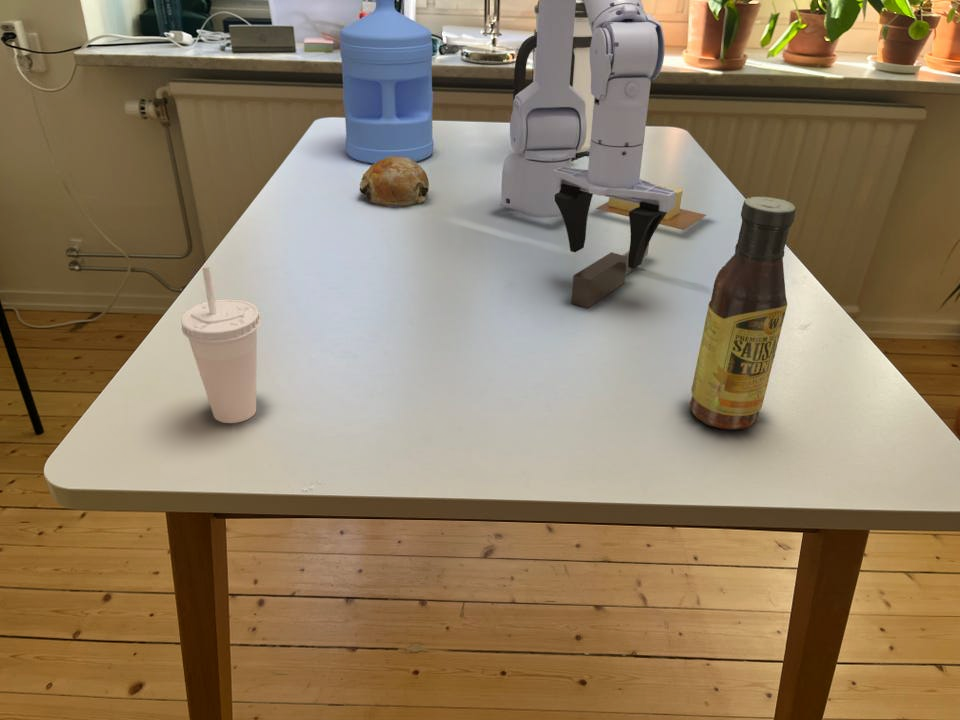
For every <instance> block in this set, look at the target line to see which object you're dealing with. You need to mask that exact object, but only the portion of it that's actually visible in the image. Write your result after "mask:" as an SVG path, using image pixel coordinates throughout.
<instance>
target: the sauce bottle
mask: <svg viewBox="0 0 960 720" xmlns="http://www.w3.org/2000/svg"><path fill="white" fill-rule="evenodd" d="M796 211H797V209H796V206H795V205H794V204H793V203H792V202H790V201H788V200H784V199H782V198H776V197H775V198H774V197H771V196H770V197H769V196H751V197H747V198H745V199H744V201H743V203H742V207H741V210H740V217H741V225H740V229H739V233H738V239H737V242H736V244H735V247H734V248H735V249H734V254H733V255H732V256H731V257H730V259H729V260H727V262H726V263H725V264H724V266H722V267H721V268H720V270H718V273H717V274H716V277H715V280H714V283H713V288H712V293H711V297H710V300H709V302H708V306H707V313H706V316H705V321H704V326H703V331H702V336H701V342H700V346H699V350H698V355H697V360H696V366H695V370H694V376H693V381H692V385H691V389H690V391H691V395H692V396H691V399H690V401H689V406H690V407H689V408H690V411H691V413H692V415H693V416H694V417H695V418H696V419H698V420H699V421H700V422H702V423H703V424H704V425H707V426H709V427H714V428H718V429H721V430H730V431H731V430H732V431H733V430H734V431H735V430H742V429H743V430H744V429H746V428H749V427H750V426H751V425H753V424H754V423H755V422H756V420H757V418H758V417H759V414H760V411H761V410H762V408H763V405H764V400H765V396H766V393H767V388H768V385H769V380H770V375H771V372H772V368H773V364H774V361H775V357H776V352H777V348H778V344H779V341H780V336H781V332H782V327H783V324H784V320H785V316H786V312H787V309H788V299H787V294H786V281H785V270H784V257H785V248H786V243H787V239H788V235H789V230H790V228H791V227H792V225H793V224H794V221H795V216H796Z"/></svg>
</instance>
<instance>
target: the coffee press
mask: <svg viewBox="0 0 960 720" xmlns="http://www.w3.org/2000/svg"><path fill="white" fill-rule="evenodd" d="M533 10H534V14H535V19H536V20H535V29H534V31H533V35H531V36H529V37H528V38H526V39H525V40H524V41H523V42H521V45H520V46H519V48H518V51H517V54H516V57H515V63H514V72H513V73H514V74H513V95H512V102H513V101H514V99H515V96H516V95H517V94H518V93H519V92H521V91H522V90H524V89H525V88H526V79H527V78H526V76H527V65H528V64H527V63H528V59H529V58H530V54H531V52H532V65H533V68H532V69H531V70H532V71H531V72H532V73H531V83H533V82H534V81H535V67H536V49H537V31H538V13H539V0H538V1H537V4H536V5H534V9H533ZM592 36H593V35H592V31H591V27H590V23H589V19H588V15H587V12H586V8H585V4H584V0H576V7H575V20H574V33H573V46H572V59H571V72H570V86H572V87H573V88H574V89H575V90H576V91H578V92H579V93H580V94H581V95H582V97H583V98H584V101H585V104H586V110H585V117H586V124H587V132H586V139H585V143H584V145H583V146H582V148H581V149H580V150H579V151H578V152H576V154H580V153H584V152H588V151H590V142H591V131H592V119H593V107H594V96H593V95H592V94H591V68H590V46H591V40H592Z"/></svg>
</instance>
